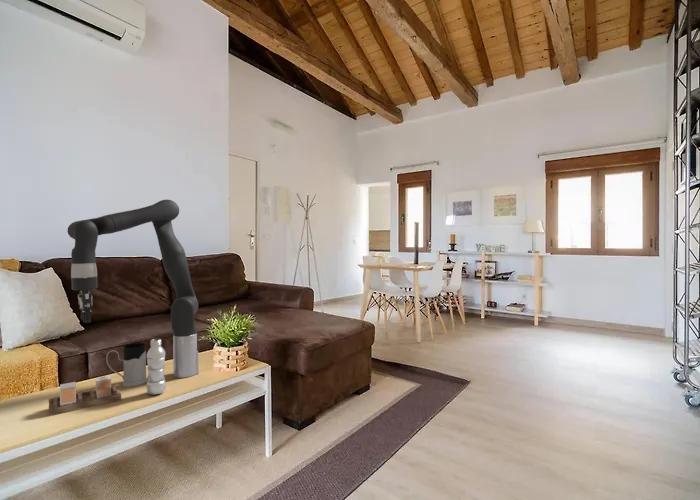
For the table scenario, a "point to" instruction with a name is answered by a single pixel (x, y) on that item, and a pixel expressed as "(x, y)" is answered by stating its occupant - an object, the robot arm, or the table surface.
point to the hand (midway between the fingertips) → (86, 321)
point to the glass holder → (133, 364)
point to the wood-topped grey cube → (67, 393)
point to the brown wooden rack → (88, 397)
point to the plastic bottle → (156, 368)
